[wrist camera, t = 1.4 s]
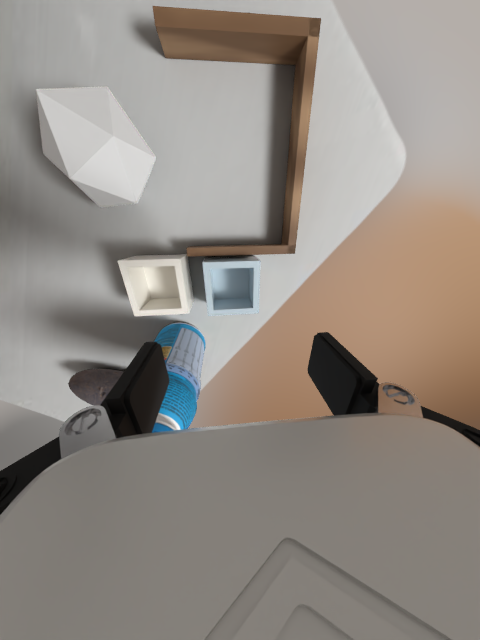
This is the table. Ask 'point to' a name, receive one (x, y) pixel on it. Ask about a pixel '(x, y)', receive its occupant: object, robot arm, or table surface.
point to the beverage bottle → (180, 375)
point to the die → (94, 144)
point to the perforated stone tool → (94, 384)
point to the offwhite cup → (158, 284)
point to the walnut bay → (253, 47)
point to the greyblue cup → (232, 285)
